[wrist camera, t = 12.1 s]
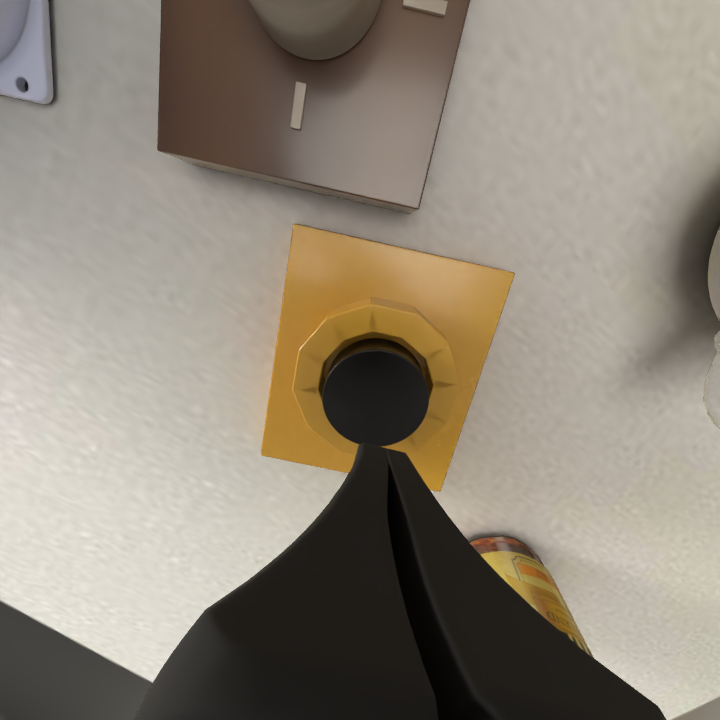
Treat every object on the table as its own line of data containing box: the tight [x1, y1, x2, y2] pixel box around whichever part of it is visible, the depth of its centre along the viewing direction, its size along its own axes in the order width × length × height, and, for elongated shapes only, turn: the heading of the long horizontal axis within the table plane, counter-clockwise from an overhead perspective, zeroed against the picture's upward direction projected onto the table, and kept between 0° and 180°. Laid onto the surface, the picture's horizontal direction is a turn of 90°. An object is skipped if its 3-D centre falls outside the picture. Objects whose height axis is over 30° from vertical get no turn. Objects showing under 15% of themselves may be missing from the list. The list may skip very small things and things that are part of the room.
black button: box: [322, 338, 429, 447], centre depth 16 cm, size 4×4×2 cm
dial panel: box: [157, 0, 470, 214], centre depth 13 cm, size 10×12×3 cm
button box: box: [261, 224, 515, 492], centre depth 18 cm, size 10×12×3 cm
